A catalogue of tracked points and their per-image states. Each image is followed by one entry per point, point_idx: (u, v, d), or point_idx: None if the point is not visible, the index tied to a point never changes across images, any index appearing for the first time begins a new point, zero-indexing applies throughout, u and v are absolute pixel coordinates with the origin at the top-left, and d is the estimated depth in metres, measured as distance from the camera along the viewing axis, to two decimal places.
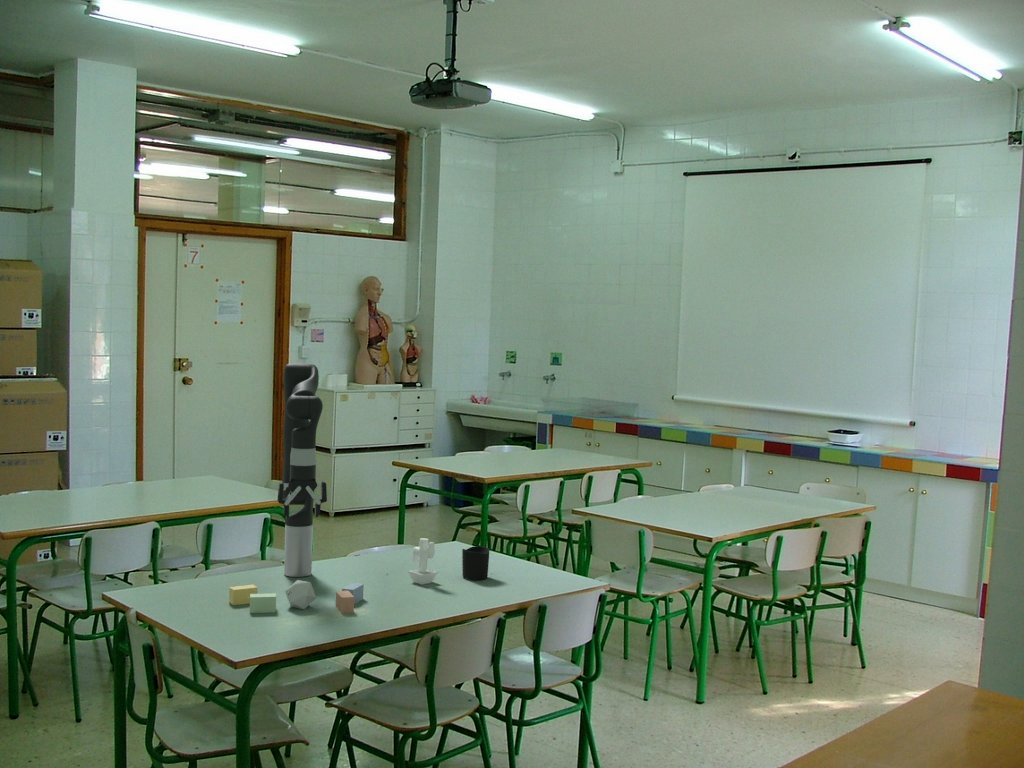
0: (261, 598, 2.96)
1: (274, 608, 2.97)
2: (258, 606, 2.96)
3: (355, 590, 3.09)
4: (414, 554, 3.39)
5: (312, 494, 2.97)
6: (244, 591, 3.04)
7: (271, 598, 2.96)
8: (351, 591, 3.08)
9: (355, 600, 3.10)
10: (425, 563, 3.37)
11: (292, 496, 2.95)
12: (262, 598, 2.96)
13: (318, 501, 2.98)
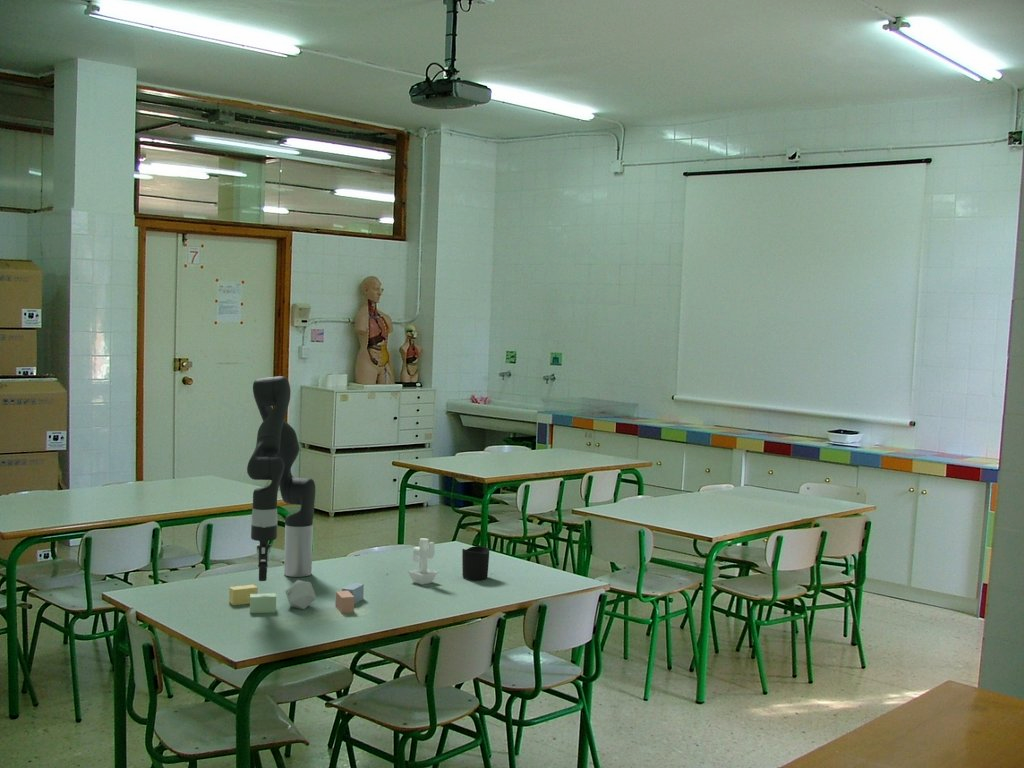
0: (261, 598, 2.96)
1: (274, 608, 2.97)
2: (258, 606, 2.96)
3: (355, 590, 3.09)
4: (414, 554, 3.39)
5: (269, 552, 3.00)
6: (244, 591, 3.04)
7: (271, 598, 2.96)
8: (351, 591, 3.08)
9: (355, 600, 3.10)
10: (425, 563, 3.37)
11: None
12: (262, 598, 2.96)
13: None
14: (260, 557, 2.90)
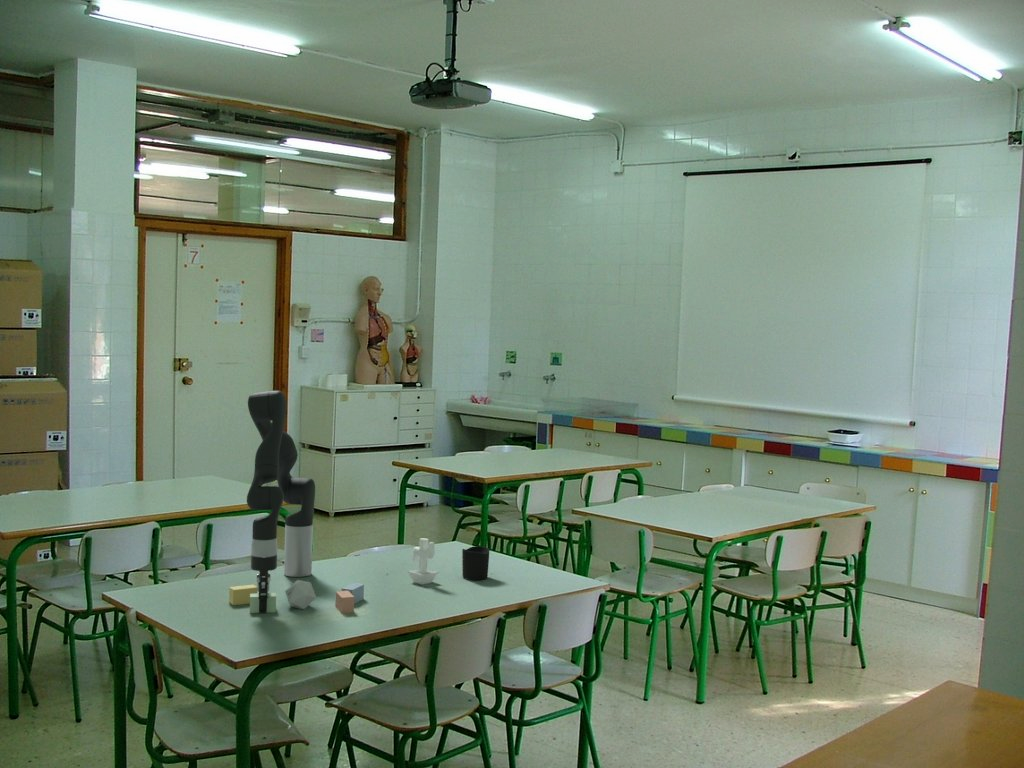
0: None
1: (274, 608, 2.97)
2: (258, 605, 2.96)
3: (355, 590, 3.09)
4: (414, 554, 3.39)
5: None
6: (244, 591, 3.04)
7: (271, 598, 2.96)
8: (351, 591, 3.08)
9: (355, 600, 3.10)
10: (425, 563, 3.37)
11: None
12: None
13: (267, 592, 3.00)
14: (260, 591, 2.92)
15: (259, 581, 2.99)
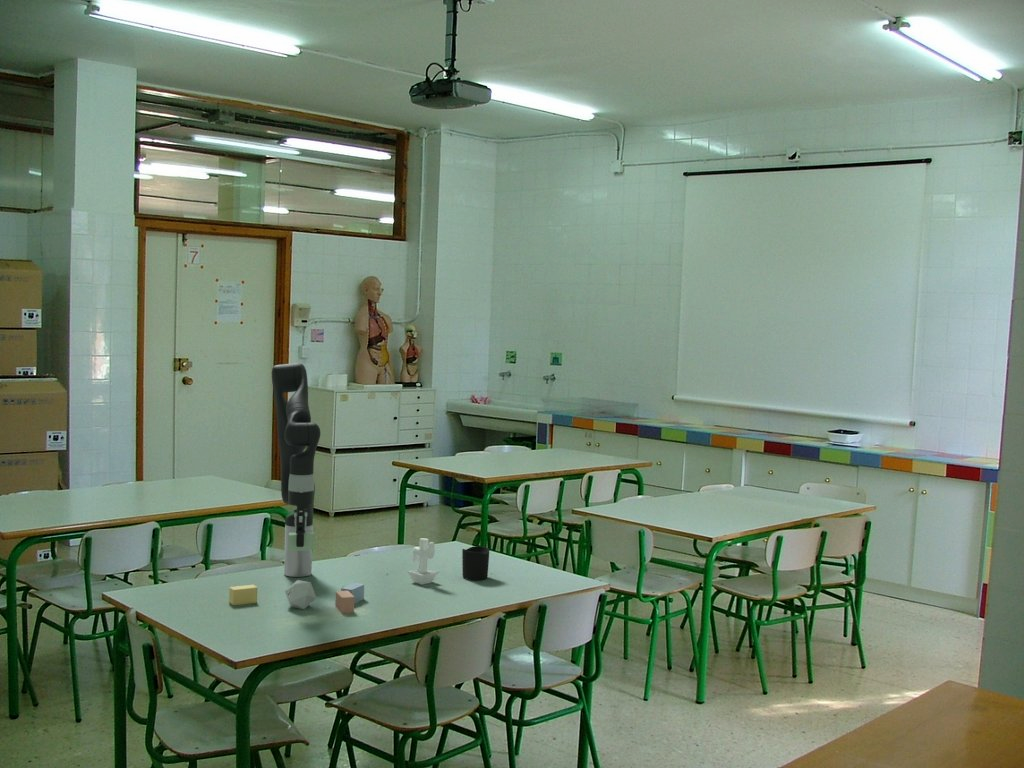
0: None
1: (313, 545, 3.01)
2: None
3: (354, 590, 3.09)
4: (414, 554, 3.39)
5: None
6: (244, 591, 3.04)
7: (310, 536, 3.01)
8: (350, 591, 3.08)
9: (355, 600, 3.10)
10: (425, 563, 3.37)
11: (306, 523, 3.00)
12: None
13: None
14: (298, 525, 2.96)
15: None
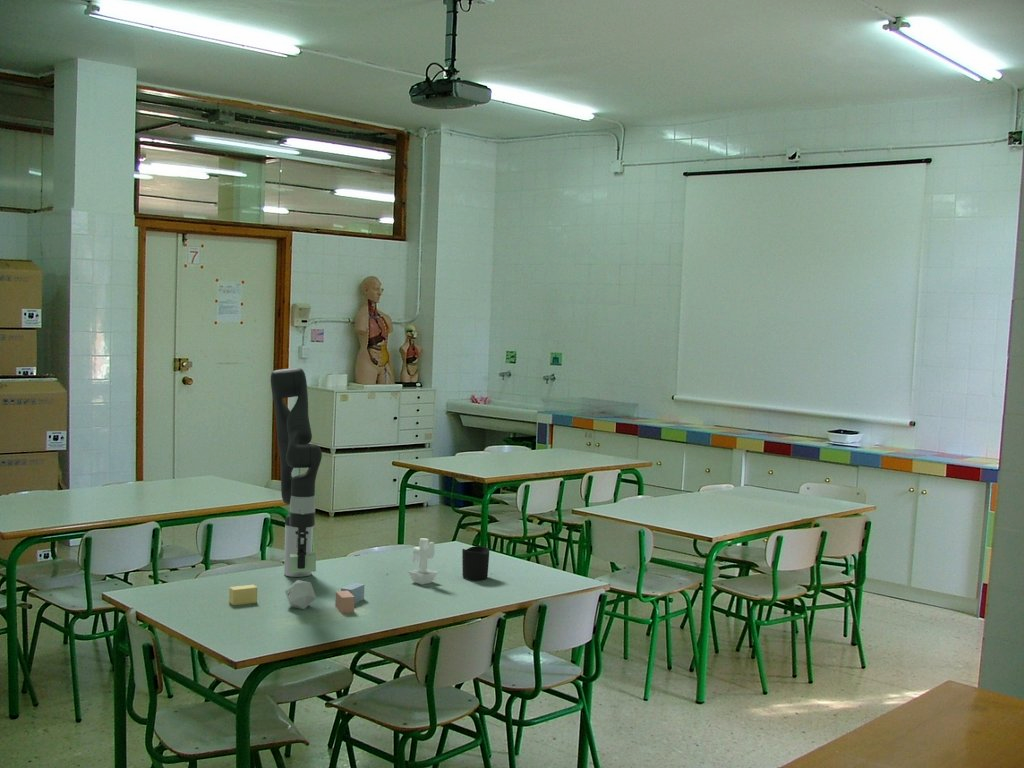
0: None
1: (314, 567, 3.02)
2: None
3: (354, 590, 3.09)
4: (414, 554, 3.39)
5: None
6: (244, 591, 3.04)
7: (311, 557, 3.01)
8: (350, 591, 3.08)
9: (355, 600, 3.10)
10: (425, 563, 3.37)
11: (307, 545, 3.01)
12: None
13: None
14: (299, 547, 2.96)
15: None
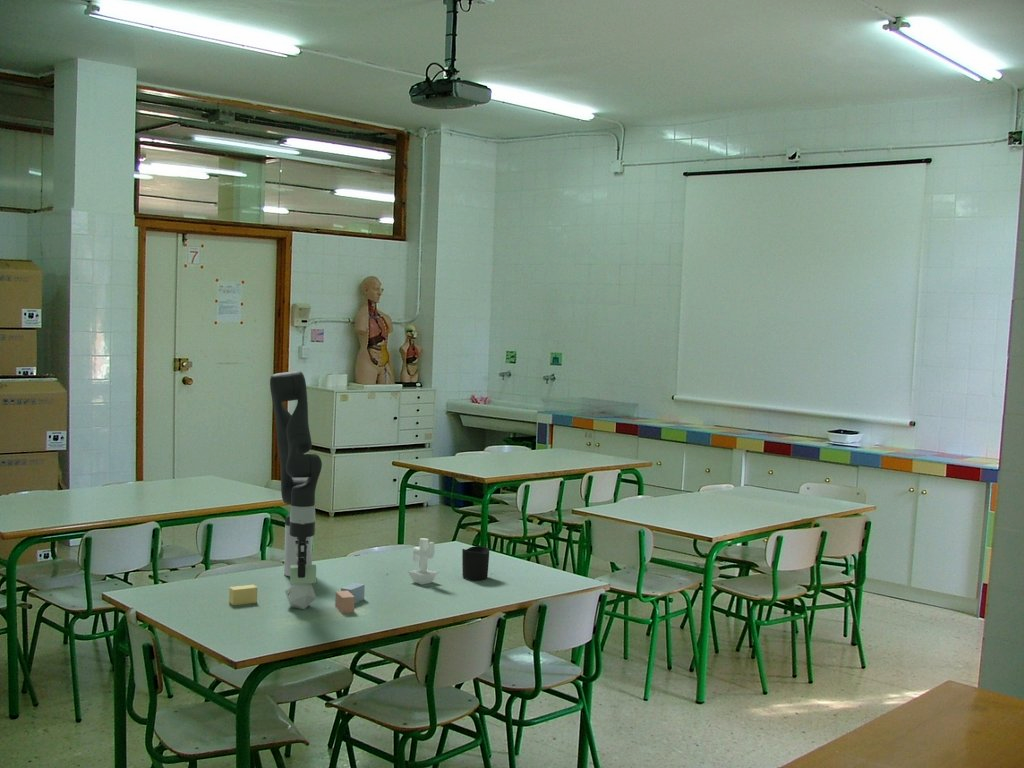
0: None
1: (314, 579, 3.02)
2: None
3: (354, 590, 3.09)
4: (414, 554, 3.39)
5: None
6: (244, 591, 3.04)
7: (311, 569, 3.02)
8: (350, 591, 3.08)
9: (354, 600, 3.10)
10: (425, 563, 3.37)
11: (307, 554, 3.00)
12: None
13: None
14: (299, 555, 2.96)
15: None
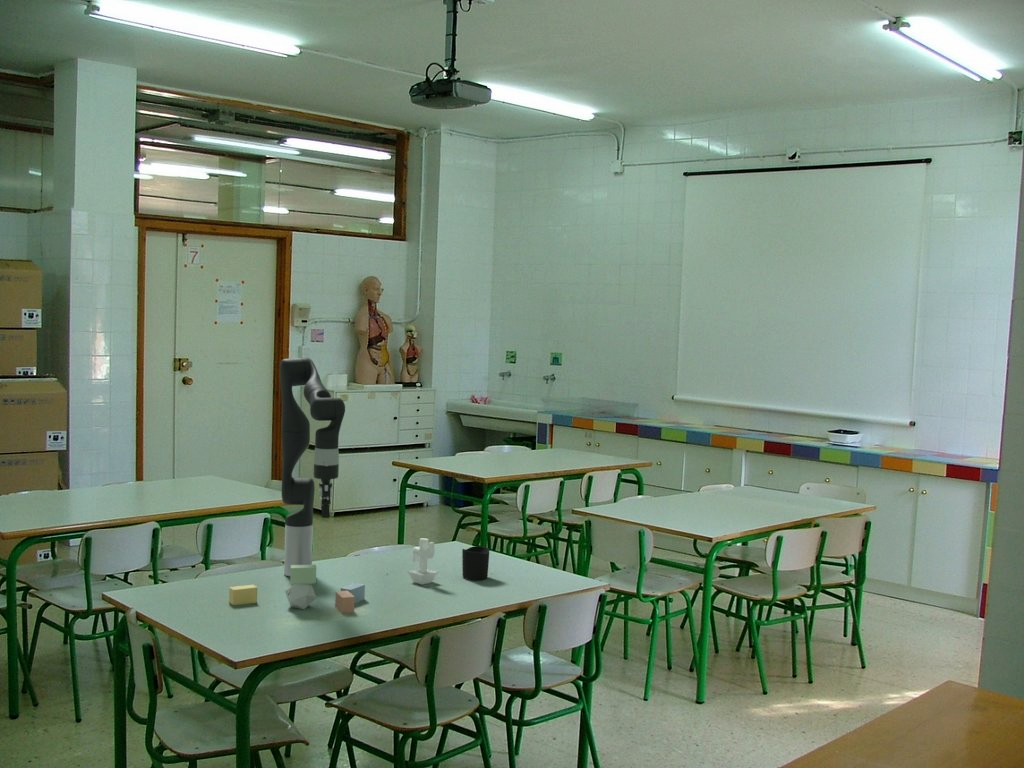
0: (302, 569, 3.01)
1: (314, 579, 3.02)
2: (299, 576, 3.01)
3: (353, 590, 3.09)
4: (414, 554, 3.39)
5: None
6: (244, 591, 3.04)
7: (311, 569, 3.02)
8: (349, 591, 3.08)
9: None
10: (425, 563, 3.37)
11: (331, 495, 3.05)
12: (302, 569, 3.01)
13: None
14: (323, 494, 3.00)
15: None
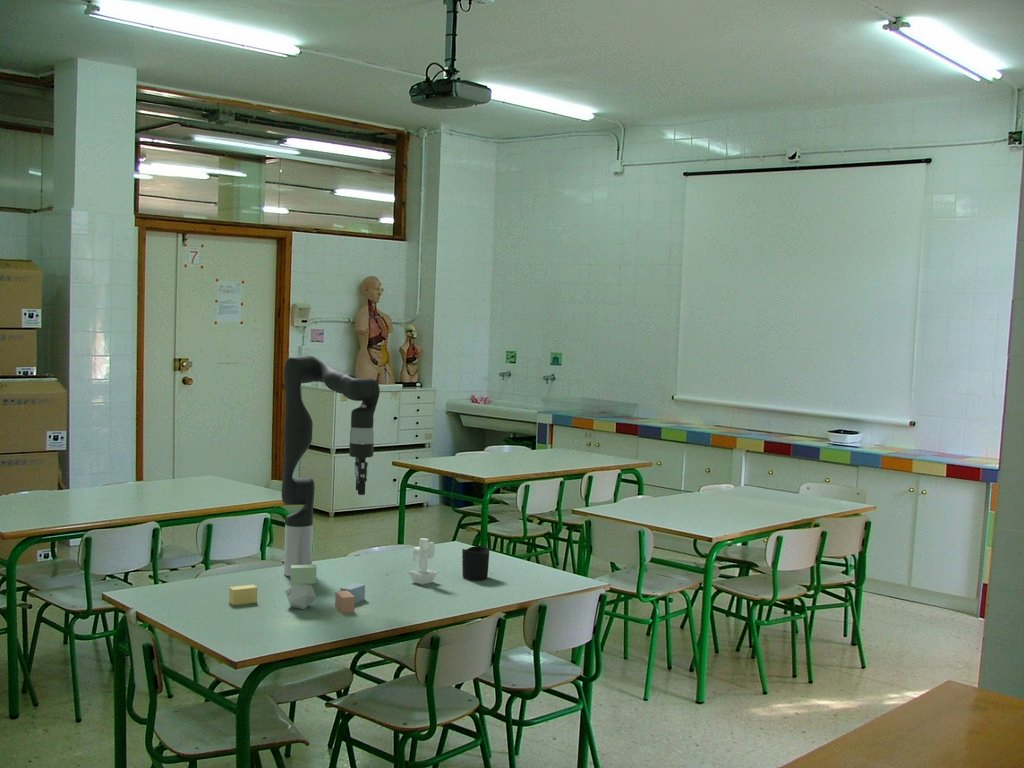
0: (302, 569, 3.01)
1: (314, 579, 3.02)
2: (299, 576, 3.01)
3: (353, 590, 3.09)
4: (414, 554, 3.39)
5: None
6: (244, 591, 3.04)
7: (312, 569, 3.02)
8: None
9: None
10: (425, 563, 3.37)
11: None
12: (302, 569, 3.01)
13: None
14: (360, 472, 3.09)
15: None
